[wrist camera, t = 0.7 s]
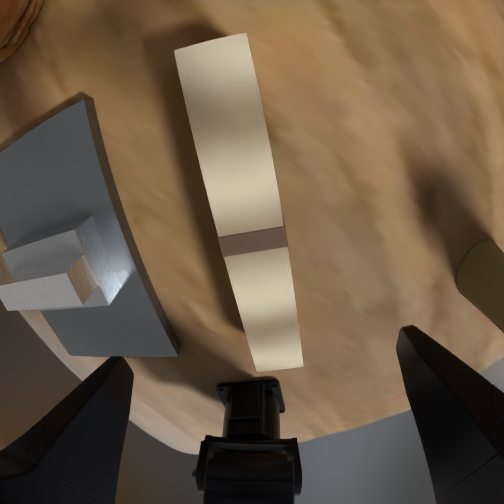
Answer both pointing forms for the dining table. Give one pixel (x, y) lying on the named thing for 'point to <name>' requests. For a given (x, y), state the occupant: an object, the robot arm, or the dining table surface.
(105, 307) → the fulcrum
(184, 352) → the dining table surface
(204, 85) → the beige long bar
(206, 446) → the robot arm
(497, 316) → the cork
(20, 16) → the burger
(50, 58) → the dining table surface
